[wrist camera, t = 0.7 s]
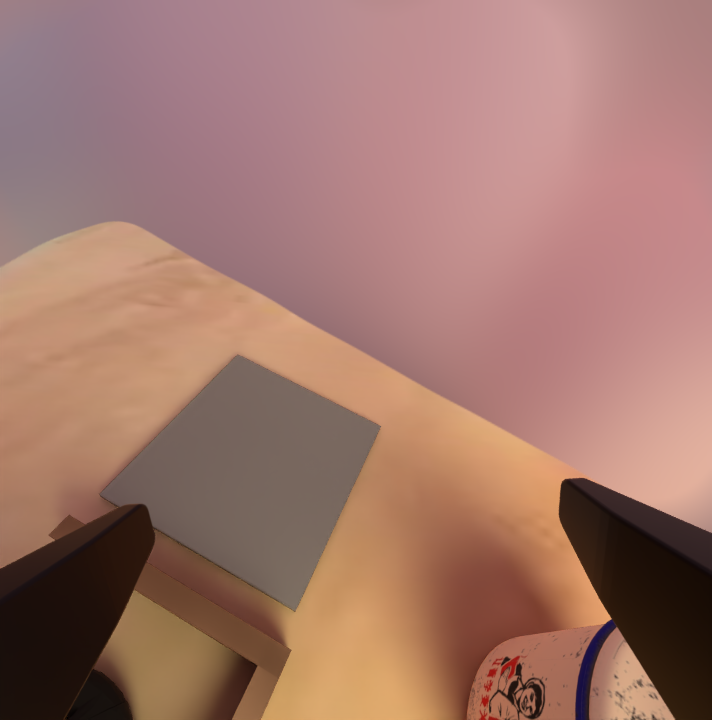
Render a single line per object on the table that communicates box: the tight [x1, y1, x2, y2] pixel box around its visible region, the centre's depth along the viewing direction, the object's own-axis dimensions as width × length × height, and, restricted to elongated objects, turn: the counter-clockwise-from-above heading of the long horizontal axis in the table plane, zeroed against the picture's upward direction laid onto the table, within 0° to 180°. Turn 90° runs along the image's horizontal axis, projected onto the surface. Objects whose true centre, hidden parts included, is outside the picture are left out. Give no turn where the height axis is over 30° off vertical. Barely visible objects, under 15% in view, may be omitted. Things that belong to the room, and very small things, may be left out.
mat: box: [99, 355, 381, 611], centre depth 23 cm, size 12×12×1 cm
